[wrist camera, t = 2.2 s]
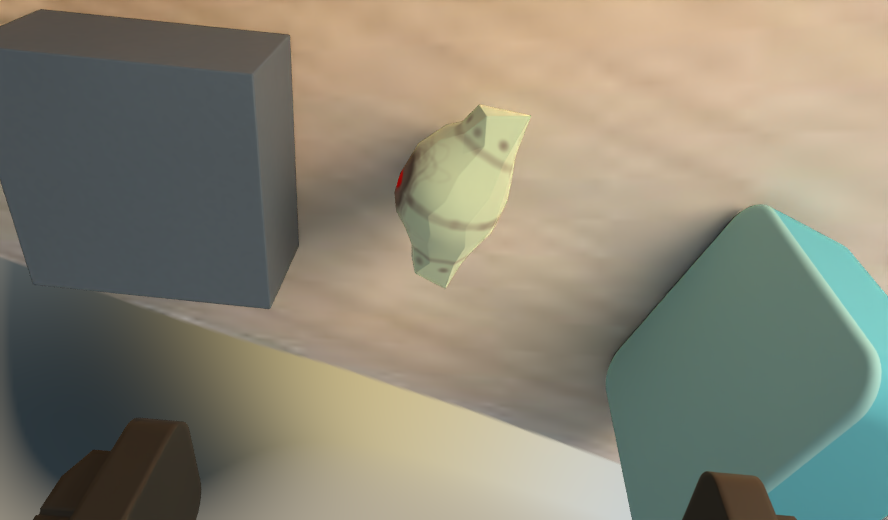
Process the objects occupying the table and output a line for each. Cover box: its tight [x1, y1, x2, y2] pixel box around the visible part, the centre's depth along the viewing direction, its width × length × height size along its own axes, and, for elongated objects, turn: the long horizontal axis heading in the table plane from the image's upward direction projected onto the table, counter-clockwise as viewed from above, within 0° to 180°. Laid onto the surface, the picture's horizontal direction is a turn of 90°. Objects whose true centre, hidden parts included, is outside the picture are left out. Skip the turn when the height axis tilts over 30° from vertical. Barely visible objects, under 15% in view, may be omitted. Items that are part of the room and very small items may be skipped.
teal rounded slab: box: [606, 205, 888, 520], centre depth 28 cm, size 12×4×12 cm, turn 153°
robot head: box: [395, 105, 531, 288], centre depth 26 cm, size 8×4×7 cm, turn 158°
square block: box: [0, 9, 299, 309], centre depth 27 cm, size 10×10×5 cm
